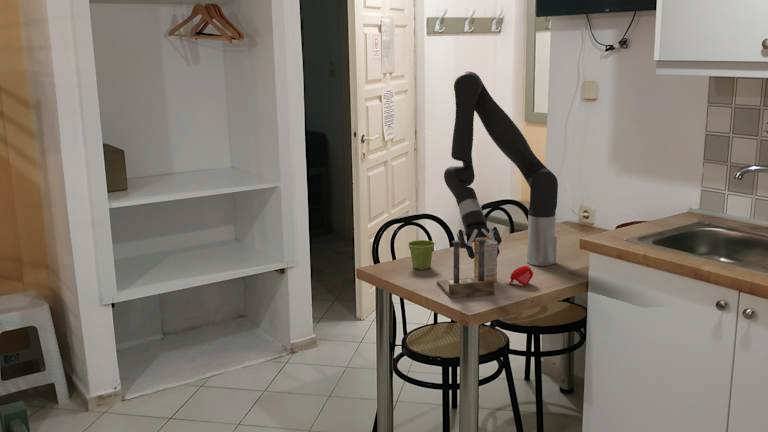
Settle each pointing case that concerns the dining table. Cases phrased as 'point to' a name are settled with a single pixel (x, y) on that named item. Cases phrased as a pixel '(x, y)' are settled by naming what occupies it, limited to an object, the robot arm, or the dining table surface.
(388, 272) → the dining table surface
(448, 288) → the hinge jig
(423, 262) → the plant pot
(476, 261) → the supplement box
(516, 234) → the dining table surface
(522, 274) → the cap
